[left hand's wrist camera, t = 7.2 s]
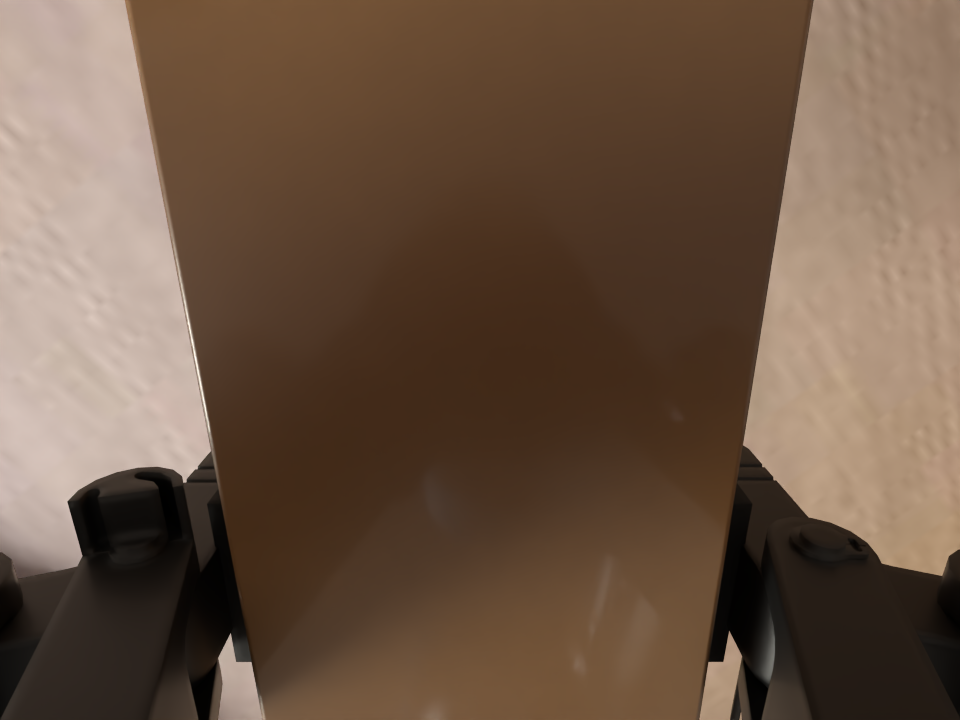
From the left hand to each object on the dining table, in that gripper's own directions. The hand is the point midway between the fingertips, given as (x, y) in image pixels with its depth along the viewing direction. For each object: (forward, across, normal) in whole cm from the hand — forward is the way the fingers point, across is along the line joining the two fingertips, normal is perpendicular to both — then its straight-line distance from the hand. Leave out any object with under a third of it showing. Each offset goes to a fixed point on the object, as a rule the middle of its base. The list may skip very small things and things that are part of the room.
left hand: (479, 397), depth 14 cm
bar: (+1, 0, -21) cm, 21 cm away
